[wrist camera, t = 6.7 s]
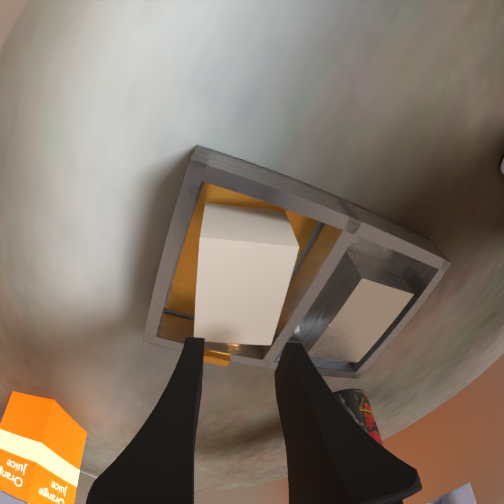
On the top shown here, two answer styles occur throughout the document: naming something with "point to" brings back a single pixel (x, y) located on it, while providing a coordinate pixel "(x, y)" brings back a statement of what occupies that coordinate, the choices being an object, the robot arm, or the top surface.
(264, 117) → the top surface
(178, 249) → the rack
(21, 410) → the orange juice
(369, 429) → the deodorant
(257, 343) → the off-white upright block
